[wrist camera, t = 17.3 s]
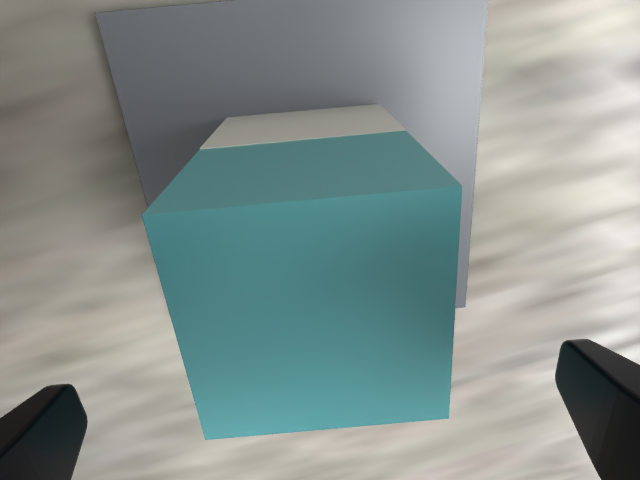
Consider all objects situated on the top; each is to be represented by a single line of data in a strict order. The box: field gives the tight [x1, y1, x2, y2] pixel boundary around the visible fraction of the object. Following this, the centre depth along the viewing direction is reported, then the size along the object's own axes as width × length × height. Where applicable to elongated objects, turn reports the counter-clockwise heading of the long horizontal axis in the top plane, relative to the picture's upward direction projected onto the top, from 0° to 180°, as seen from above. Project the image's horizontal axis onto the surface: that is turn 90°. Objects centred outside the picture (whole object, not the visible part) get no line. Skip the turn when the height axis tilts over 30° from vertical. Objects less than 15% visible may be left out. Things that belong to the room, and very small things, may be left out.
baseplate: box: [95, 0, 488, 308], centre depth 19 cm, size 14×14×2 cm
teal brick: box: [142, 130, 462, 440], centre depth 12 cm, size 6×6×5 cm
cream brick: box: [200, 104, 406, 149], centre depth 16 cm, size 6×6×5 cm
